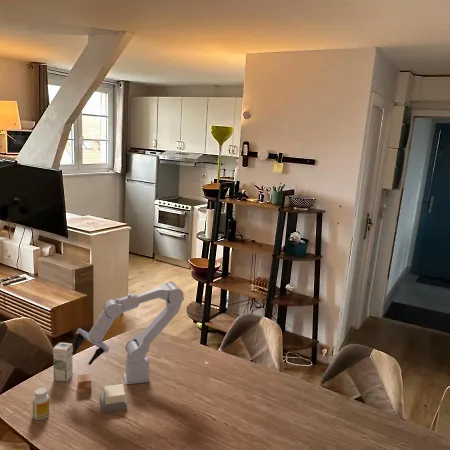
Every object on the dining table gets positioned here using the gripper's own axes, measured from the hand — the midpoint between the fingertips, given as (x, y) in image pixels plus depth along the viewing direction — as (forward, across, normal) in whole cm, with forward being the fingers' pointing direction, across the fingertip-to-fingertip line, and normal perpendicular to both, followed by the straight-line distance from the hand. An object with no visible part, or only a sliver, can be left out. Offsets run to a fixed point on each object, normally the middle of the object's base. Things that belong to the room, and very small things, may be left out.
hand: (81, 358), depth 164 cm
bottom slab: (+6, +20, -3) cm, 22 cm away
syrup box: (+14, -4, +9) cm, 17 cm away
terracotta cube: (+11, +7, +3) cm, 13 cm away
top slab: (+4, +19, -4) cm, 20 cm away
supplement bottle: (+19, +2, -14) cm, 24 cm away
